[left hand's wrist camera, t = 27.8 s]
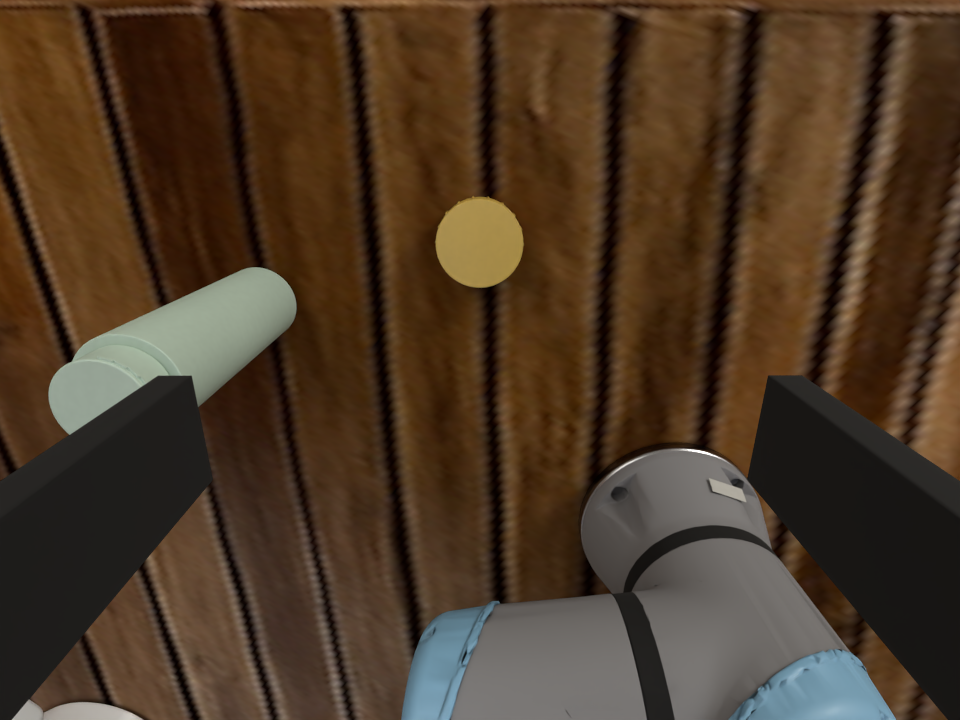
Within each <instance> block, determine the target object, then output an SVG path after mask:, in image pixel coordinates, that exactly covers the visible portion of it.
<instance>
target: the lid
mask: <svg viewBox="0 0 960 720" xmlns="http://www.w3.org/2000/svg"><path fill="white" fill-rule="evenodd" d="M445 214H446V215H445V217H444V218H443V220H442V221H441V223H440V224H439V225H438V231H437V235H436V241H435V243H436V252H437V256H438V259H439V261H440V263H441V265H442V267H443V268H444V270H445V271H446V272H447V274H448V275H449V276H450V277H452V278H453V279H454V280H456V281H457V282H459V283H461V284H463V285H466V286H469V287H476V288H483V287H489V286H493V285H496V284H498V283H500V282H502V281H503V280H505V279H506V278H507V277H509V276H510V275H511V274H512V273H513V271H514V270H515V269H516V267H517V265H518V263H519V261H520V260H521V256H522V252H523V246H524V243H523V235H522V231H521V230H522V228H521V226H520V225H519V223H518V221H517V220H516V218H515V214H514V213H512V212H511V211H510V210H509V209H508V208H507V207H506V206H505V205H504V204H503V203H500V202H498V201H496V200H494V199H491V198H489V197H487V198H486V197H474V196H472V198H468V199H466V200H463V201H461V202H460V201H458V203H457V204H456V205H455V206H453V207H452V208H451V209H450V210H449V211H447V212H446V213H445Z"/></svg>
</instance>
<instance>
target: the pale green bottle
mask: <svg viewBox="0 0 960 720" xmlns="http://www.w3.org/2000/svg"><path fill="white" fill-rule="evenodd" d="M295 315H296V299H295V296H294V293H293V291H292V289H291V288H290V286H289V285H288V283H287V282H286V281H285V280H284V279H283V278H282V277H280V276H279V275H278V274H276V273H274V272H272V271H270V270H267V269H264V268H257V267H254V268H246V269H243V270H241V271H239V272H237V273H234V274H232V275H230V276H228V277H226V278H224V279H221V280H219V281H217V282H215V283H213V284H211V285H208V286H206V287H204V288H202V289H200V290H198V291H195V292H193V293H191V294H189V295H187V296H185V297H182V298H180V299H178V300H176V301H174V302H172V303H169V304H167V305H165V306H163V307H161V308H159V309H156V310H154V311H152V312H150V313H148V314H146V315H143V316H141V317H139V318H137V319H135V320H132V321H130V322H128V323H126V324H124V325H122V326H119V327H117V328H115V329H113V330H111V331H109V332H106V333H104V334H102V335H100V336H98V337H96V338H94V339H92V340H90V341H88V342H87V343H85V344H84V345H83V346H82V347H81V348H80V349H79V350H78V352H77V353H76V355H75V357H74V359H73V361H72V362H70V363H68V364H66V365H65V366H63V367H62V368H60V369H59V370H58V371H57V373H56V374H55V375H54V377H53V379H52V381H51V383H50V387H49V403H50V407H51V410H52V413H53V415H54V417H55V418H56V420H57V421H58V423H59V424H60V425H61V427H62V428H63V429H64V430H65V431H66V432H67V433H68V434H69V435H70V434H72V433H73V432H75V431H76V430H78V429H79V428H81V427H82V426H84V425H85V424H87V423H88V422H90V421H91V420H93V419H94V418H95V417H97V416H98V415H100V414H101V413H103V412H104V411H106V410H107V409H109V408H110V407H112V406H113V405H115V404H116V403H118V402H119V401H121V400H122V399H124V398H125V397H127V396H128V395H130V394H131V393H133V392H134V391H136V390H137V389H139V388H140V387H142V386H143V385H145V384H146V383H148V382H149V381H151V380H152V379H154V378H155V377H157V376H192V379H193V384H194V389H195V394H196V399H197V404H198V407H199V406H200V405H201V404H202V403H203V402H205V401H206V400H207V399H208V398H209V397H210V396H211V395H213V394H214V393H215V392H216V391H217V390H218V389H219V388H221V387H222V386H223V385H224V384H225V383H226V382H227V381H229V380H230V379H231V378H232V377H233V376H234V375H235V374H237V373H238V372H239V371H240V370H241V369H242V368H243V367H245V366H246V365H247V364H248V363H249V362H250V361H251V360H253V359H254V358H255V357H256V356H257V355H258V354H259V353H261V352H262V351H263V350H264V349H265V348H266V347H267V346H269V345H270V344H271V343H272V342H273V341H274V340H275V339H277V338H278V337H279V336H280V335H281V334H282V333H283V332H285V331H286V330H287V329H288V328H289V327H290V326H291V324H292V322H293V321H294V318H295Z"/></svg>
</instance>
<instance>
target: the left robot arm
mask: <svg viewBox="0 0 960 720" xmlns="http://www.w3.org/2000/svg"><path fill="white" fill-rule="evenodd" d="M212 480H213V478H212V473H211V468H210V463H209V458H208V453H207V448H206V443H205V439H204V434H203V429H202V424H201V419H200V414H199V409H198V404H197V399H196V394H195V389H194V384H193V379H192V376H157V377H155V378H154V379H152V380H151V381H149V382H148V383H146V384H145V385H143V386H142V387H140V388H139V389H137V390H136V391H134V392H133V393H131V394H130V395H128V396H127V397H125V398H124V399H122V400H121V401H119V402H118V403H116V404H115V405H113V406H112V407H110V408H109V409H107V410H106V411H104V412H103V413H101V414H100V415H98V416H97V417H95V418H94V419H93V420H91V421H90V422H88V423H87V424H85V425H84V426H82V427H81V428H79V429H78V430H76V431H75V432H73V433H72V434H70V435H69V436H67V437H66V438H64V439H63V440H61V441H60V442H58V443H57V444H55V445H54V446H52V447H51V448H49V449H48V450H46V451H45V452H43V453H42V454H40V455H39V456H37V457H36V458H34V459H33V460H31V461H30V462H28V463H27V464H25V465H24V466H22V467H21V468H19V469H18V470H16V471H15V472H13V473H12V474H10V475H9V476H7V477H6V478H4V479H3V480H1V481H0V720H12V719H13V718H14V717H15V716H16V714H17V713H18V712H19V711H20V710H21V708H22V707H23V706H24V705H25V704H26V702H27V701H28V700H29V699H30V698H31V696H32V695H33V694H34V693H35V692H36V690H37V689H38V688H39V687H40V686H41V684H42V683H43V682H44V681H45V680H46V678H47V677H48V676H49V675H50V674H51V672H52V671H53V670H54V669H55V668H56V666H57V665H58V664H59V663H60V662H61V661H62V659H63V658H64V657H65V656H66V655H67V653H68V652H69V651H70V650H71V649H72V647H73V646H74V645H75V644H76V643H77V641H78V640H79V639H80V638H81V637H82V635H83V634H84V633H85V632H86V631H87V629H88V628H89V627H90V626H91V625H92V623H93V622H94V621H95V620H96V619H97V617H98V616H99V615H100V614H101V613H102V612H103V610H104V609H105V608H106V607H107V606H108V604H109V603H110V602H111V601H112V600H113V598H114V597H115V596H116V595H117V594H118V592H119V591H120V590H121V589H122V588H123V586H124V585H125V584H126V583H127V582H128V580H129V579H130V578H131V577H132V576H133V574H134V573H135V572H136V571H137V570H138V568H139V567H140V566H141V565H142V564H143V562H144V561H145V560H146V559H147V558H148V557H149V555H150V554H151V553H152V552H153V551H154V549H155V548H156V547H157V546H158V545H159V543H160V542H161V541H162V540H163V539H164V537H165V536H166V535H167V534H168V533H169V531H170V530H171V529H172V528H173V527H174V525H175V524H176V523H177V522H178V521H179V519H180V518H181V517H182V516H183V515H184V513H185V512H186V511H187V510H188V509H189V508H190V506H191V505H192V504H193V503H194V502H195V500H196V499H197V498H198V497H199V496H200V494H201V493H202V492H203V491H204V490H205V488H206V487H207V486H208V485H209V484H210V482H211V481H212ZM752 486H753V487H754V488H755V490H756V491H757V492H758V493H759V494H760V496H761V497H762V498H763V499H764V500H765V502H766V503H767V504H768V505H769V506H770V508H771V509H772V510H773V511H774V512H775V513H776V515H777V516H778V517H779V518H780V519H781V521H782V522H783V523H784V524H785V525H786V527H787V528H788V529H789V530H790V531H791V533H792V534H793V535H794V536H795V537H796V539H797V540H798V541H799V542H800V543H801V545H802V546H803V547H804V548H805V549H806V551H807V552H808V553H809V554H810V555H811V557H812V558H813V559H814V560H815V561H816V562H817V564H818V565H819V566H820V567H821V568H822V570H823V571H824V572H825V573H826V574H827V576H828V577H829V578H830V579H831V580H832V582H833V583H834V584H835V585H836V586H837V588H838V589H839V590H840V591H841V592H842V594H843V595H844V596H845V597H846V598H847V600H848V601H849V602H850V603H851V604H852V606H853V607H854V608H855V609H856V610H857V612H858V613H859V614H860V615H861V616H862V617H863V619H864V620H865V621H866V622H867V623H868V625H869V626H870V627H871V628H872V629H873V631H874V632H875V633H876V634H877V635H878V637H879V638H880V639H881V640H882V641H883V643H884V644H885V645H886V646H887V647H888V649H889V650H890V651H891V652H892V653H893V655H894V656H895V657H896V658H897V659H898V661H899V662H900V663H901V664H902V665H903V666H904V668H905V669H906V670H907V671H908V672H909V674H910V675H911V676H912V677H913V678H914V680H915V681H916V682H917V683H918V684H919V686H920V687H921V688H922V689H923V690H924V692H925V693H926V694H927V695H928V696H929V698H930V699H931V700H932V701H933V702H934V704H935V705H936V706H937V707H938V708H939V710H940V711H941V712H942V713H943V714H944V716H945V717H946V718H947V719H948V720H960V481H959V480H957V479H956V478H954V477H953V476H951V475H950V474H948V473H947V472H945V471H944V470H942V469H941V468H939V467H938V466H936V465H935V464H933V463H932V462H930V461H929V460H927V459H926V458H924V457H923V456H921V455H920V454H918V453H917V452H915V451H914V450H912V449H911V448H909V447H908V446H906V445H905V444H903V443H902V442H900V441H899V440H897V439H896V438H894V437H893V436H891V435H890V434H888V433H887V432H885V431H884V430H882V429H881V428H879V427H878V426H876V425H875V424H873V423H872V422H870V421H869V420H867V419H866V418H865V417H863V416H862V415H860V414H859V413H857V412H856V411H854V410H853V409H851V408H850V407H848V406H847V405H845V404H844V403H842V402H841V401H839V400H838V399H836V398H835V397H833V396H832V395H830V394H829V393H827V392H826V391H824V390H823V389H821V388H820V387H818V386H817V385H815V384H814V383H812V382H811V381H809V380H808V379H806V378H805V377H803V376H768V379H767V384H766V389H765V394H764V399H763V404H762V409H761V414H760V419H759V424H758V429H757V434H756V438H755V443H754V448H753V453H752V458H751V463H750V468H749V473H748V478H746V477H745V476H744V474H743V473H742V472H741V471H740V470H739V469H738V467H737V466H736V465H735V464H734V463H733V462H732V461H730V460H729V459H728V458H726V457H725V456H723V455H722V454H720V453H718V452H716V451H714V450H712V449H709V448H706V447H704V446H700V445H695V444H689V443H663V444H656V445H651V446H648V447H644V448H641V449H638V450H636V451H633V452H631V453H629V454H627V455H625V456H623V457H621V458H620V459H618V460H617V461H615V462H614V463H612V464H611V465H610V466H608V467H607V468H606V469H605V470H604V471H603V472H602V473H601V474H600V475H599V476H598V477H597V478H596V479H595V481H594V482H593V483H592V485H591V486H590V488H589V489H588V491H587V493H586V495H585V497H584V500H583V502H582V505H581V509H580V514H579V533H580V537H581V541H582V545H583V549H584V552H585V554H586V556H587V559H588V561H589V563H590V565H591V566H592V568H593V570H594V571H595V573H596V574H597V576H598V577H599V578H600V579H601V580H602V582H603V583H604V584H605V585H606V586H607V588H608V589H609V590H610V591H611V593H612V594H602V595H593V596H584V597H574V598H563V599H552V600H540V601H529V602H518V603H507V604H500V602H499V601H492V602H490V603H488V604H487V605H486V606H479V607H473V608H467V609H460V610H453V611H448V612H445V613H442V614H440V615H439V616H437V617H436V618H435V619H433V620H432V621H431V622H430V624H429V625H428V626H427V627H426V629H425V630H424V632H423V634H422V636H421V638H420V641H419V643H418V646H417V649H416V651H415V654H414V658H413V661H412V665H411V669H410V673H409V677H408V682H407V687H406V692H405V698H404V704H403V711H402V718H401V720H896V718H895V717H894V715H893V714H892V712H891V711H890V709H889V707H888V706H887V704H886V703H885V701H884V700H883V698H882V697H881V695H880V693H879V692H878V690H877V689H876V687H875V686H874V684H873V682H872V681H871V679H870V678H869V676H868V674H867V671H866V668H865V667H864V666H863V664H862V662H861V661H860V660H859V659H858V658H857V657H856V656H854V655H853V654H852V653H851V652H850V651H849V650H848V648H847V647H846V646H845V644H844V643H843V642H842V641H841V639H840V638H839V637H838V635H837V634H836V633H835V631H834V630H833V629H832V627H831V626H830V625H829V624H828V622H827V621H826V620H825V618H824V617H823V616H822V614H821V613H820V612H819V610H818V609H817V608H816V607H815V605H814V604H813V603H812V601H811V600H810V599H809V597H808V596H807V595H806V593H805V592H804V591H803V590H802V588H801V587H800V586H799V584H798V583H797V582H796V580H795V579H794V578H793V576H792V575H791V574H790V573H789V571H788V570H787V569H786V567H785V566H784V565H783V563H782V562H781V561H780V560H779V558H778V557H777V556H776V554H775V553H774V552H773V550H772V548H771V544H770V540H769V536H768V532H767V528H766V524H765V520H764V516H763V512H762V508H761V505H760V501H759V499H758V497H757V495H756V493H755V491H754V489H753V487H752Z"/></svg>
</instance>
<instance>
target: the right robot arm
mask: <svg viewBox="0 0 960 720" xmlns="http://www.w3.org/2000/svg"><path fill="white" fill-rule="evenodd" d="M12 720H143V719H142V718H140V717H138V716H136V715H134V714H132V713H130V712H128V711H126V710H123V709H120V708H117V707H114V706H110V705H106V704H100V703H92V702H76V703H68V704H64V705H60V706H57V707H54V708H52V709H50V710H48V711H46V712H44V713H43V710H42V709H41V708H40V707H39V706H38V705H37V704H35V703H34V702H32V701H31V700H28V701H27V702H26V704H25V705H24V706H23V707H22V708H21V710H20V711H19V712H18V713H17V714H16V716H15V717H14V718H13V719H12Z"/></svg>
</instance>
